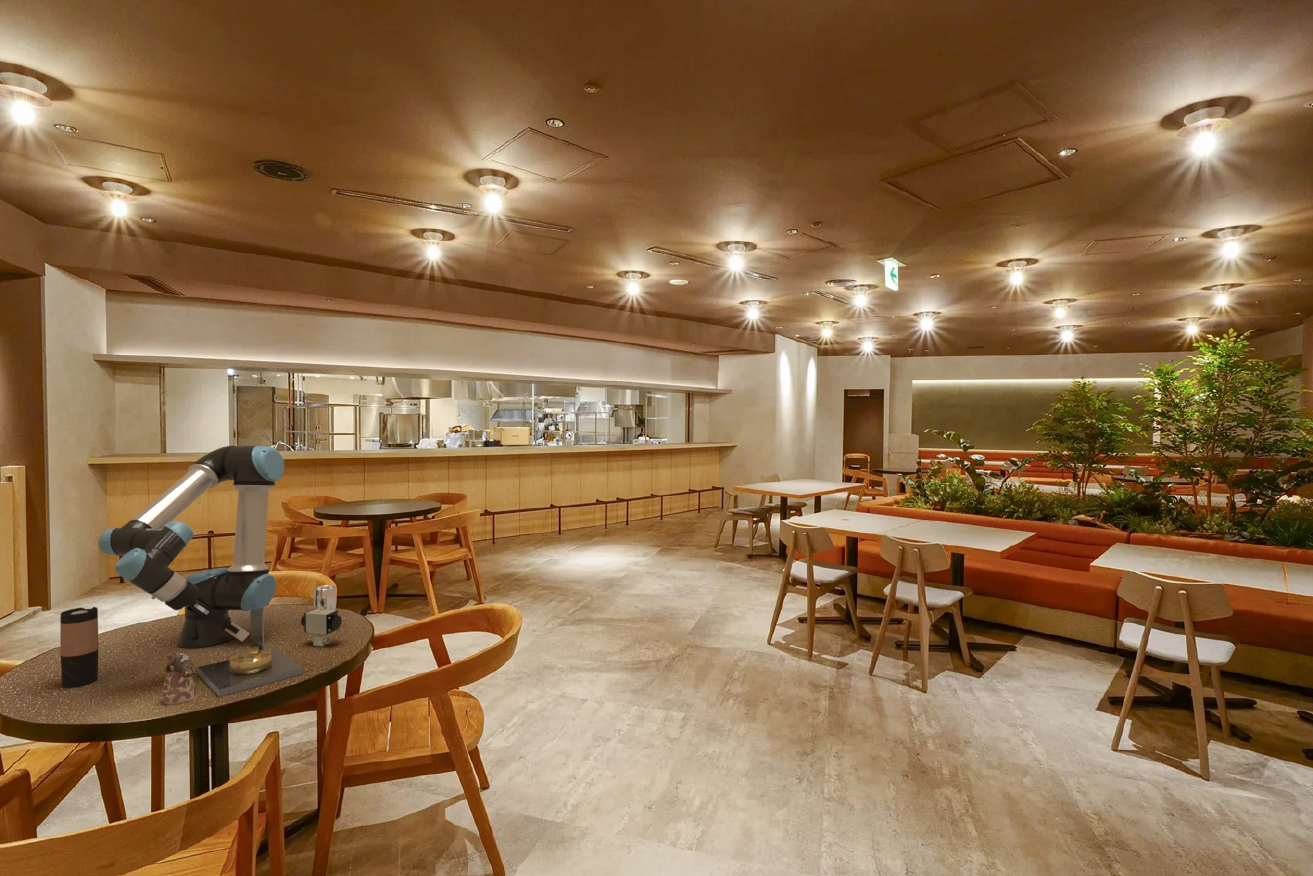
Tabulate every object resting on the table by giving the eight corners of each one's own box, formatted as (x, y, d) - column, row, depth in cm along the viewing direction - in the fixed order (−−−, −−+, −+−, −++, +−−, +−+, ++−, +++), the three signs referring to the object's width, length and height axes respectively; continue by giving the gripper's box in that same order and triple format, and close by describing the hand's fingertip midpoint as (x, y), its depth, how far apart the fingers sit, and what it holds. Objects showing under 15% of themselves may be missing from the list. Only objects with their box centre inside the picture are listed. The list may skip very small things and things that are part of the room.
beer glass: (332, 625, 217) (332, 583, 216) (339, 630, 212) (339, 587, 211) (311, 630, 212) (311, 587, 212) (317, 635, 207) (317, 591, 207)
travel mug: (66, 690, 162) (65, 616, 162) (56, 684, 167) (55, 611, 166) (103, 680, 169) (102, 609, 169) (93, 674, 173) (92, 605, 173)
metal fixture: (238, 654, 183) (238, 611, 182) (277, 649, 187) (277, 606, 187) (226, 676, 167) (226, 628, 167) (269, 670, 171) (269, 623, 171)
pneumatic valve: (331, 648, 194) (331, 611, 194) (300, 646, 197) (300, 609, 196) (344, 642, 200) (344, 606, 199) (313, 640, 202) (313, 604, 202)
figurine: (184, 704, 155) (183, 658, 155) (154, 705, 155) (154, 658, 154) (202, 692, 162) (202, 647, 162) (174, 693, 162) (174, 648, 161)
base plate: (197, 674, 174) (197, 666, 174) (276, 654, 189) (276, 647, 189) (219, 697, 159) (219, 688, 159) (302, 674, 175) (302, 666, 174)
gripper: (158, 598, 170) (228, 642, 183) (168, 607, 162) (241, 653, 174) (182, 576, 174) (248, 621, 187) (193, 584, 166) (262, 631, 178)
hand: (245, 637), depth 181 cm, fingers closed
